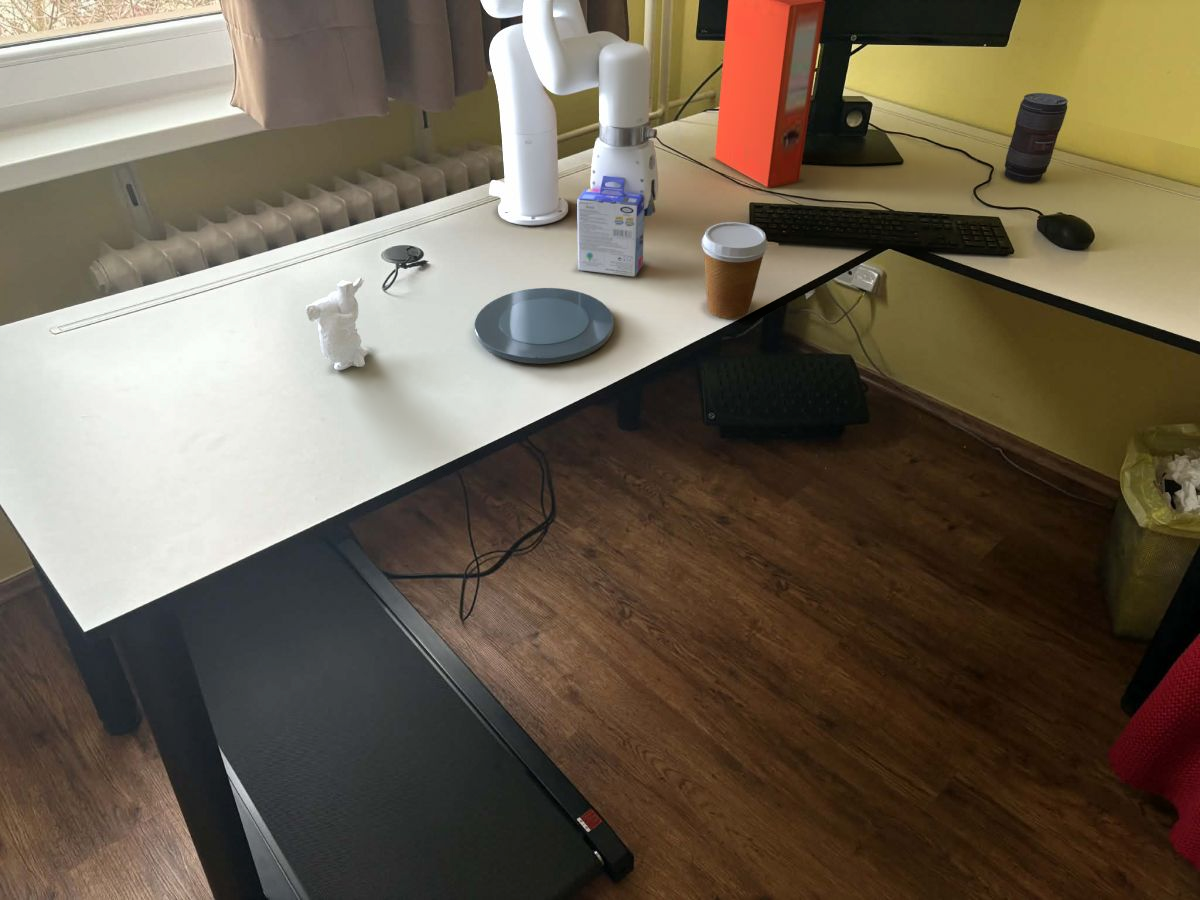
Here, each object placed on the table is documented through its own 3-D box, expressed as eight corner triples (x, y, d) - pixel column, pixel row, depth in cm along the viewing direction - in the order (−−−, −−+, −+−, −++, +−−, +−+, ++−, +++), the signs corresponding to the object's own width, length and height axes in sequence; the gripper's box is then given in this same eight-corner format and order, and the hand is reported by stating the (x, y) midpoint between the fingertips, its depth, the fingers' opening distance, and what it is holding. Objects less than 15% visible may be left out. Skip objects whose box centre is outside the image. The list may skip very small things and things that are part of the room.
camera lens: (1048, 174, 176) (1073, 95, 167) (1039, 188, 171) (1065, 107, 162) (1006, 166, 180) (1028, 88, 171) (996, 179, 174) (1018, 100, 165)
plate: (448, 346, 127) (447, 337, 126) (519, 285, 141) (519, 276, 140) (573, 381, 120) (573, 371, 119) (635, 313, 134) (635, 304, 133)
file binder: (746, 152, 186) (763, -19, 166) (800, 180, 175) (825, 0, 155) (714, 159, 183) (728, -14, 163) (767, 188, 171) (788, 5, 152)
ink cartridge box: (644, 263, 147) (647, 177, 138) (636, 278, 143) (638, 191, 134) (586, 256, 149) (585, 171, 140) (577, 271, 145) (575, 184, 136)
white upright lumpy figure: (370, 343, 128) (355, 266, 121) (387, 365, 124) (373, 287, 116) (311, 360, 125) (293, 282, 117) (327, 383, 120) (308, 304, 113)
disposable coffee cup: (719, 330, 130) (726, 254, 123) (684, 302, 137) (689, 228, 130) (773, 315, 134) (782, 240, 126) (736, 288, 140) (744, 215, 133)
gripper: (678, 131, 137) (673, 243, 148) (590, 118, 142) (592, 227, 153) (659, 147, 131) (655, 262, 143) (569, 133, 137) (572, 244, 148)
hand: (622, 243), depth 148 cm, fingers closed
